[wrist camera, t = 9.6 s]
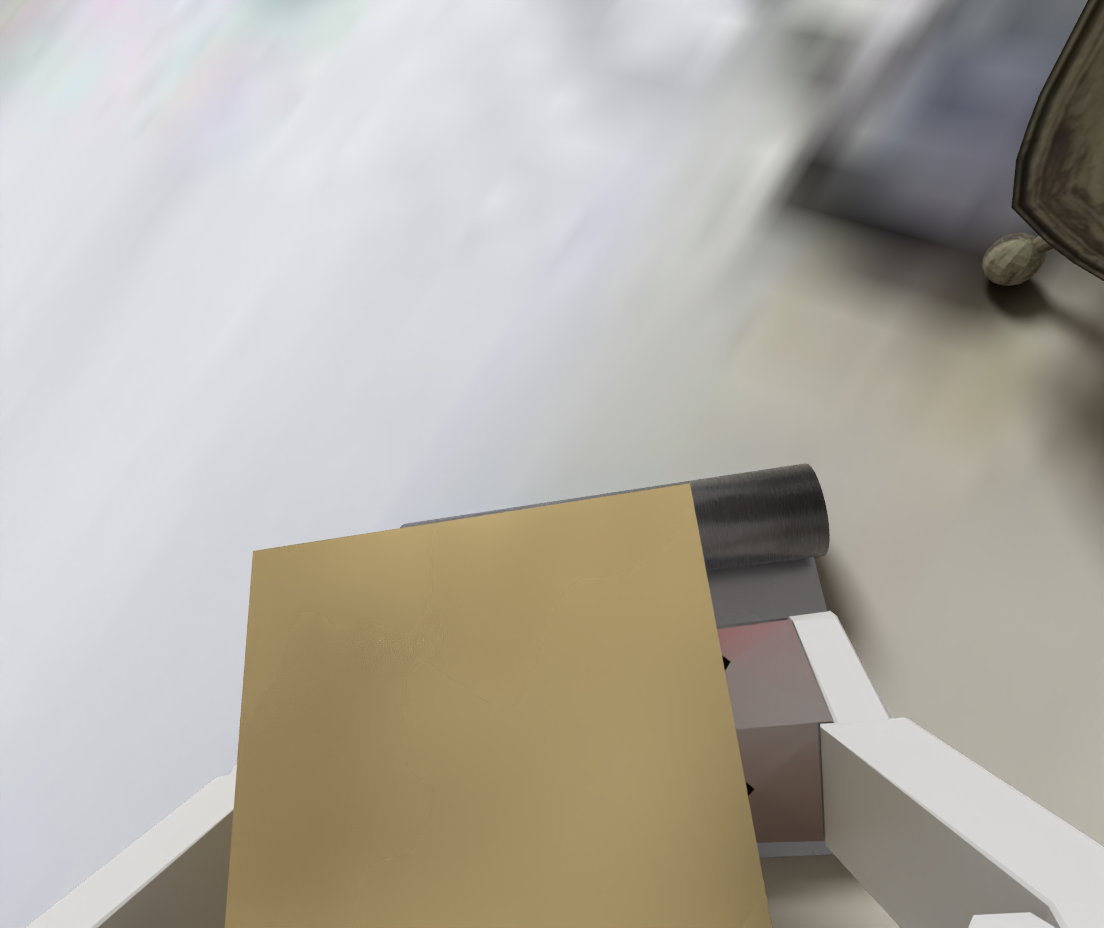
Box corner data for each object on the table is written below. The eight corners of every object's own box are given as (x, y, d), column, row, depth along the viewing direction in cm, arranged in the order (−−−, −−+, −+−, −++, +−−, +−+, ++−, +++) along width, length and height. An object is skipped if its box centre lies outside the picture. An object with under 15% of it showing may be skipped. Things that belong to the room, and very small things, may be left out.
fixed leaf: (875, 841, 16) (925, 885, 13) (448, 863, 18) (394, 907, 15) (788, 485, 19) (810, 447, 16) (438, 536, 21) (392, 511, 18)
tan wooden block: (732, 818, 11) (822, 1128, 4) (516, 832, 12) (211, 1114, 4) (693, 595, 12) (698, 482, 5) (502, 619, 13) (252, 551, 6)
